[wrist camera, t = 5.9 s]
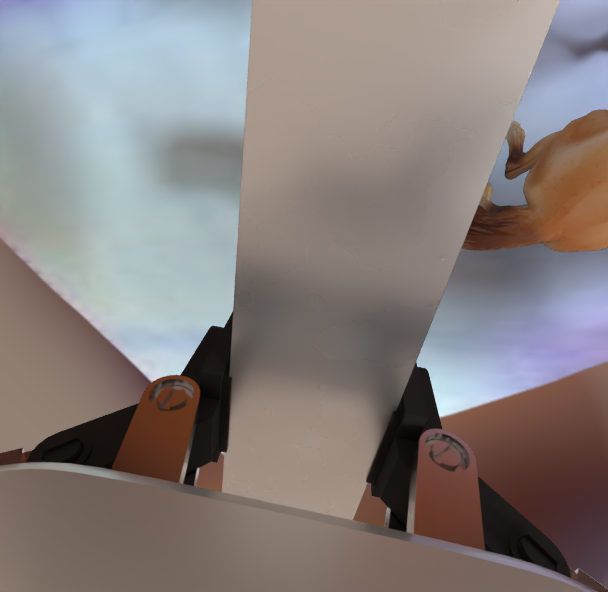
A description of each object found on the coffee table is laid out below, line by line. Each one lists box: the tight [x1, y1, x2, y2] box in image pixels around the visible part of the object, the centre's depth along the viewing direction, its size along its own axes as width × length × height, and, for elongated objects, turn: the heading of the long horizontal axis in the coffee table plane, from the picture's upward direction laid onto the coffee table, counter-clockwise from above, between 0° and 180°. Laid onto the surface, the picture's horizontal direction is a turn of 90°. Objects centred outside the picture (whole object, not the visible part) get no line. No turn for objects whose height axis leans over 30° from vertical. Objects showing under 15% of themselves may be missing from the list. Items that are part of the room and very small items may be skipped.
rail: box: [222, 0, 560, 520], centre depth 11 cm, size 4×24×4 cm, turn 172°
